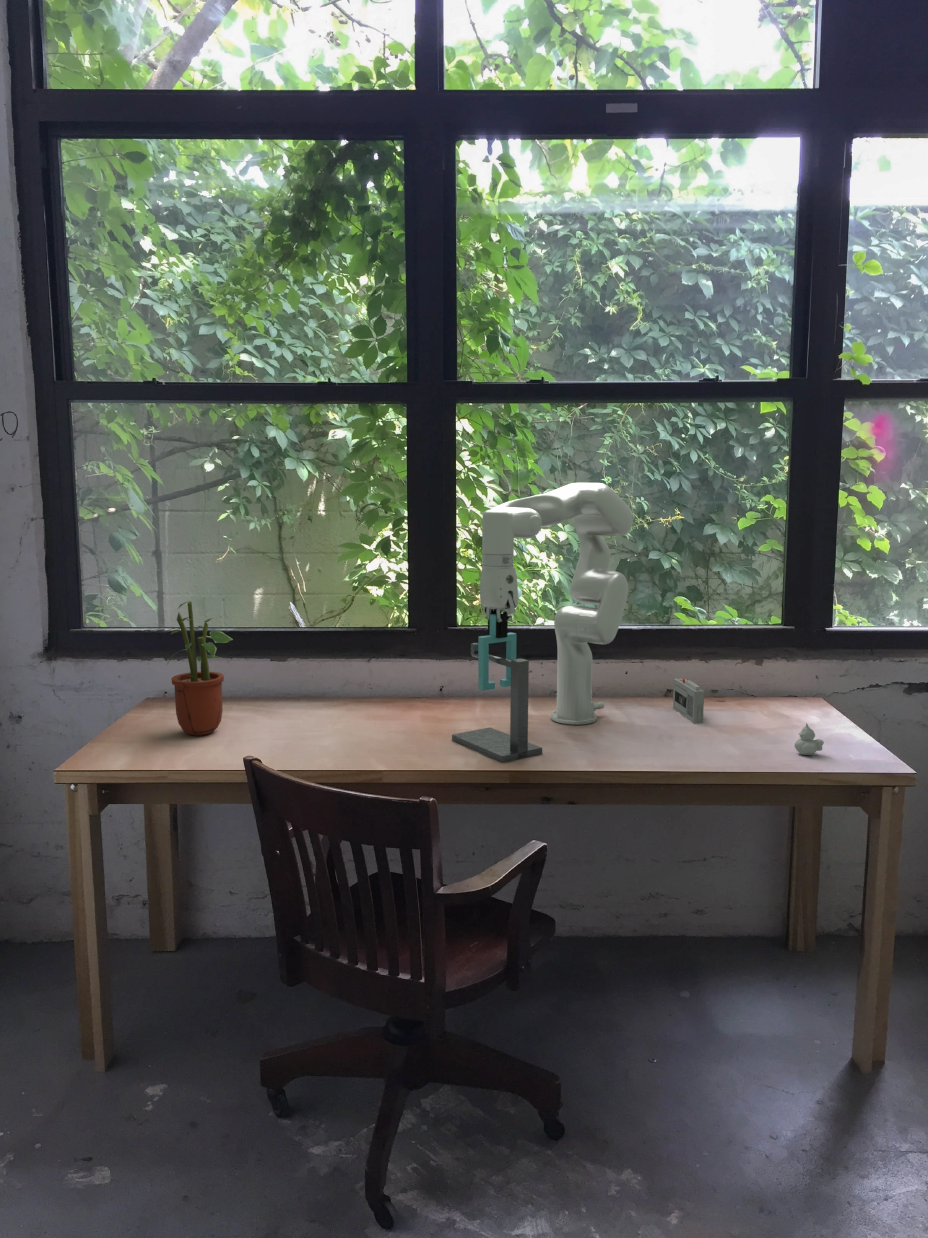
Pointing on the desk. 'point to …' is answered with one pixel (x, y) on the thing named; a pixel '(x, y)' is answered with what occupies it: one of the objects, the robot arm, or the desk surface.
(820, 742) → the rubber duck
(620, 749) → the desk surface
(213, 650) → the potted plant
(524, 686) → the hook stand
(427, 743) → the desk surface
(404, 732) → the desk surface
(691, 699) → the cassette player
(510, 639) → the teal link
